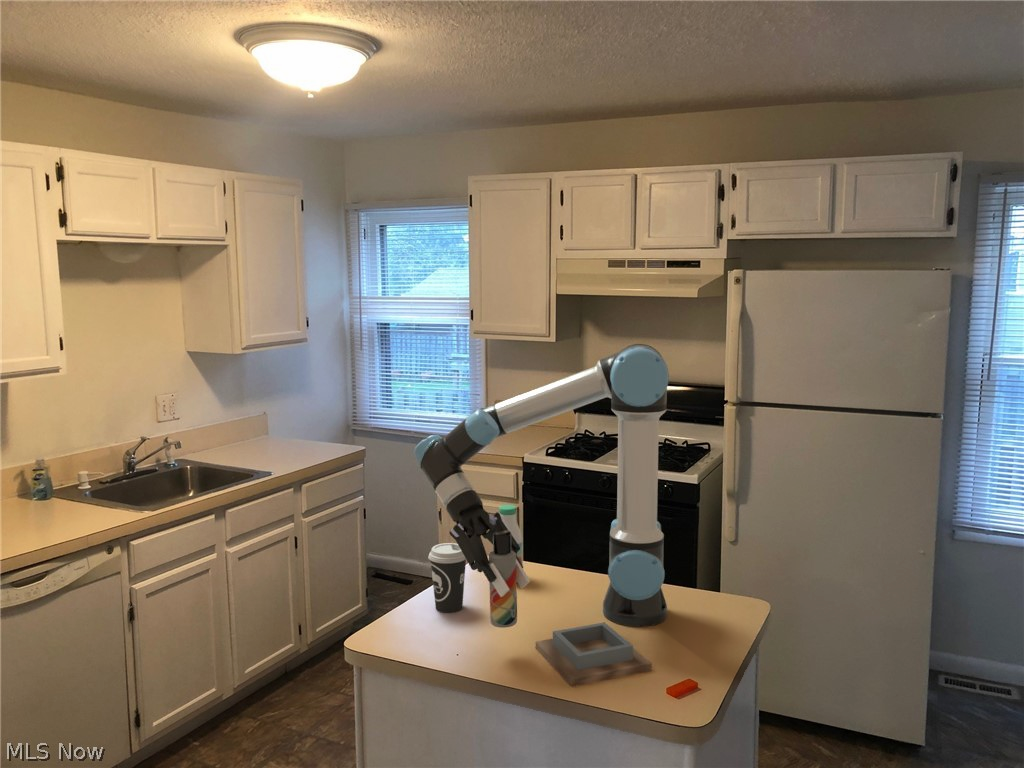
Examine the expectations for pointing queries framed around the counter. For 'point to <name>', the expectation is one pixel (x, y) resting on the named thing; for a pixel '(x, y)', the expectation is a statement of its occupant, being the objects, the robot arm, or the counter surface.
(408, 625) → the counter surface
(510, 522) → the milk bottle
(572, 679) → the stand board
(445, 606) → the coffee cup
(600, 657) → the bottle collar
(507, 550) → the lotion bottle
